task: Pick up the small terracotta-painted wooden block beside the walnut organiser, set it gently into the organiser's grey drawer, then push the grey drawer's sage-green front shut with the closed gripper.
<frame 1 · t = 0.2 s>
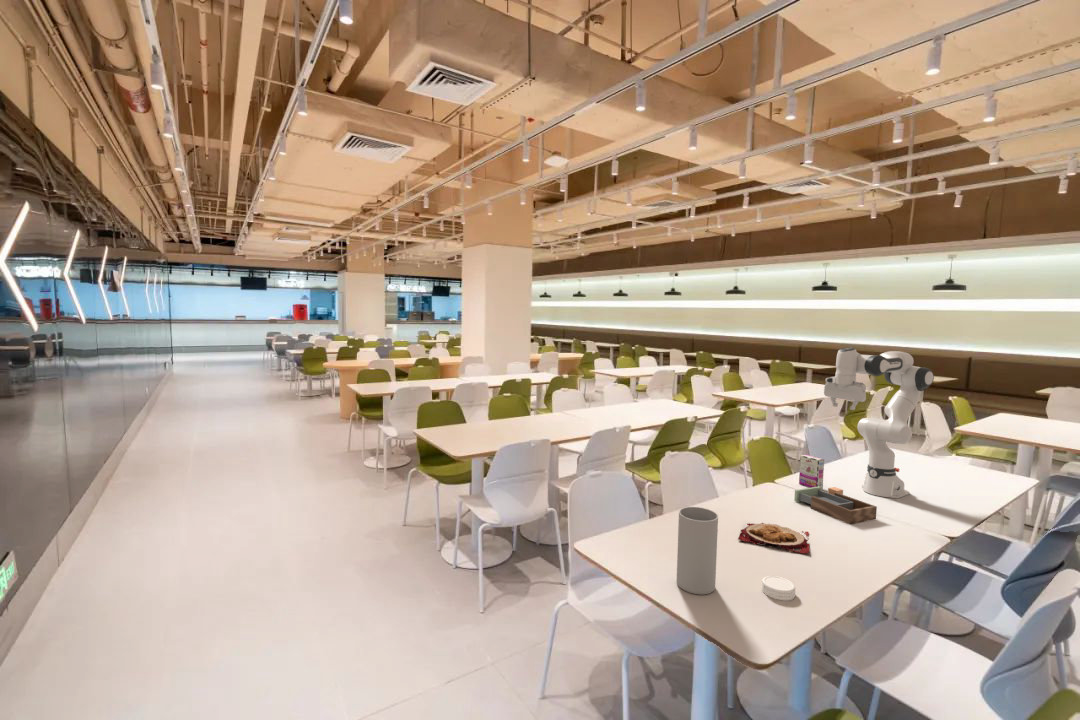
hand: (843, 408, 247), 47 cm above the table, fingers open, 8 cm apart
terracotta block: (834, 500, 250), on the table
grey drawer: (824, 500, 241), point 3 cm above the table, slide at 8.0 cm
cylinder vase: (695, 586, 168), on the table
candy bar box: (810, 486, 271), on the table
organiser housing: (842, 513, 233), on the table
coaster: (778, 593, 164), on the table
plate with food: (773, 538, 207), on the table
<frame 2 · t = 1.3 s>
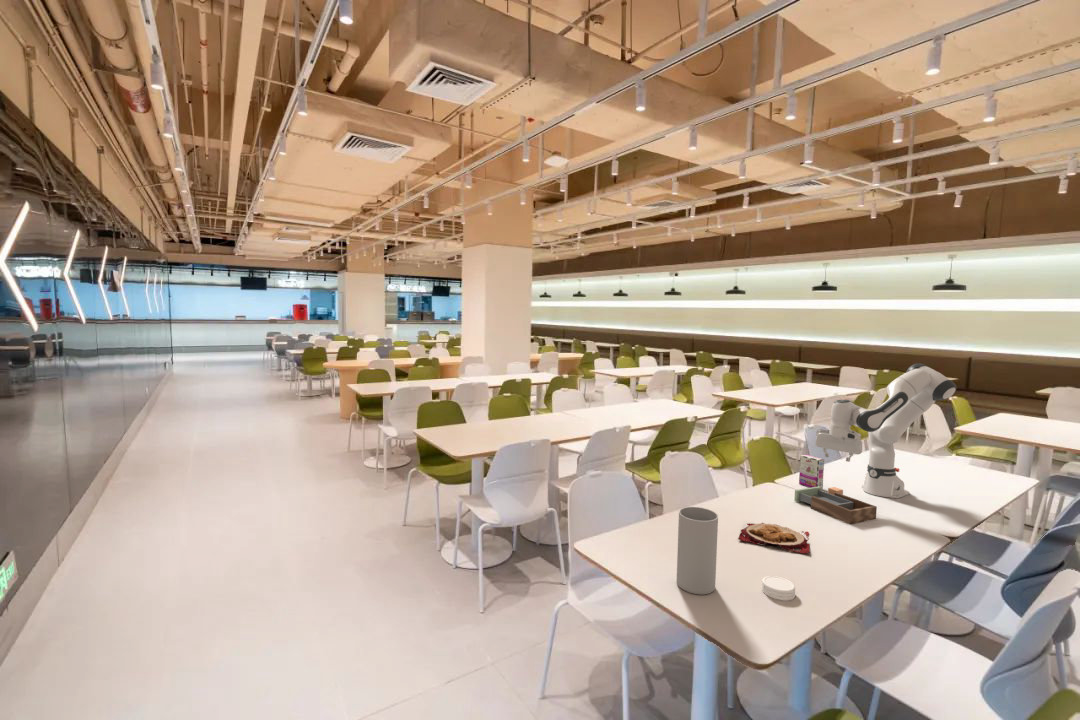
hand: (837, 459, 249), 21 cm above the table, fingers open, 8 cm apart
nothing on the table moved.
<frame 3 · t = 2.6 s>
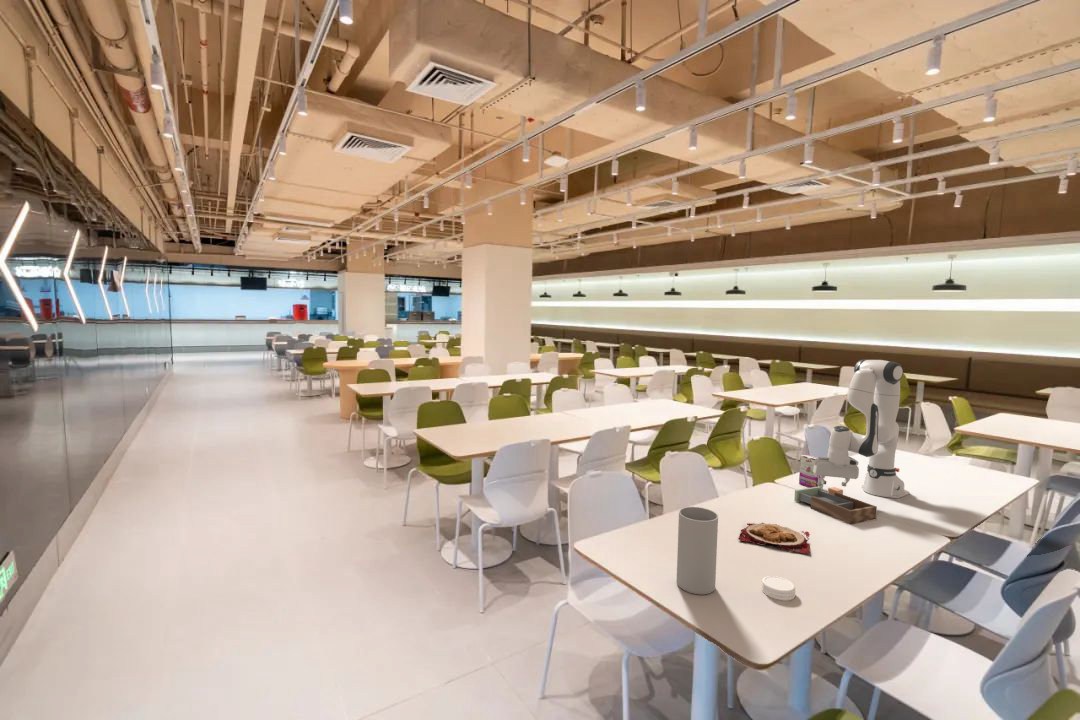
hand: (833, 485, 250), 8 cm above the table, fingers open, 8 cm apart
nothing on the table moved.
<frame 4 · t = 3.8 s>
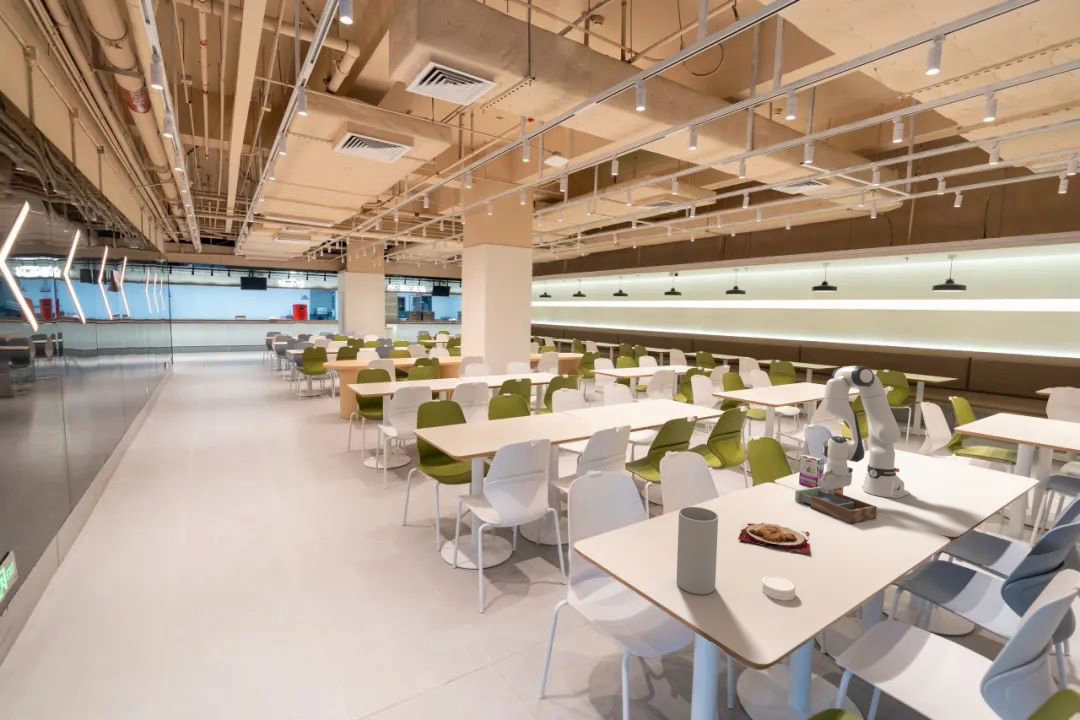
hand: (835, 496, 250), 2 cm above the table, fingers closed on terracotta block, 5 cm apart
terracotta block: (835, 500, 250), on the table, touching gripper
grey drawer: (825, 500, 241), point 3 cm above the table, slide at 7.7 cm
everything else where it was.
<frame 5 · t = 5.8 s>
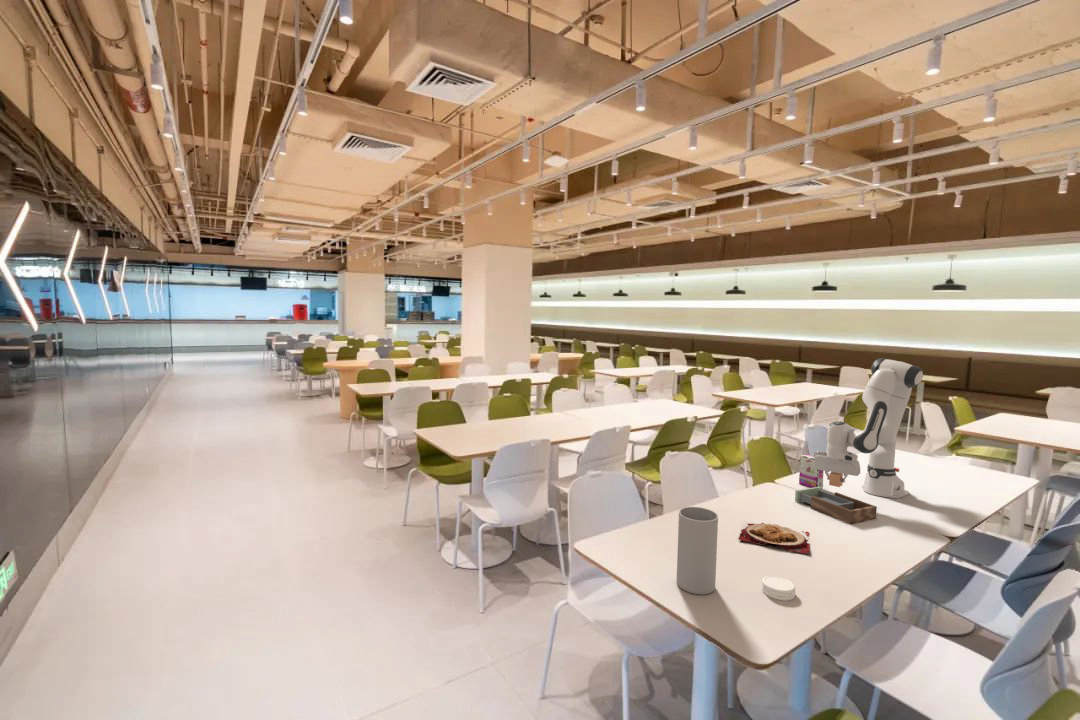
hand: (836, 480, 250), 10 cm above the table, fingers closed on terracotta block, 5 cm apart
terracotta block: (835, 485, 250), point 8 cm above the table, touching gripper
everything else where it was.
when the fingers open (6 cm above the table, at t = 11.3 s): terracotta block drops 2 cm, resting on grey drawer.
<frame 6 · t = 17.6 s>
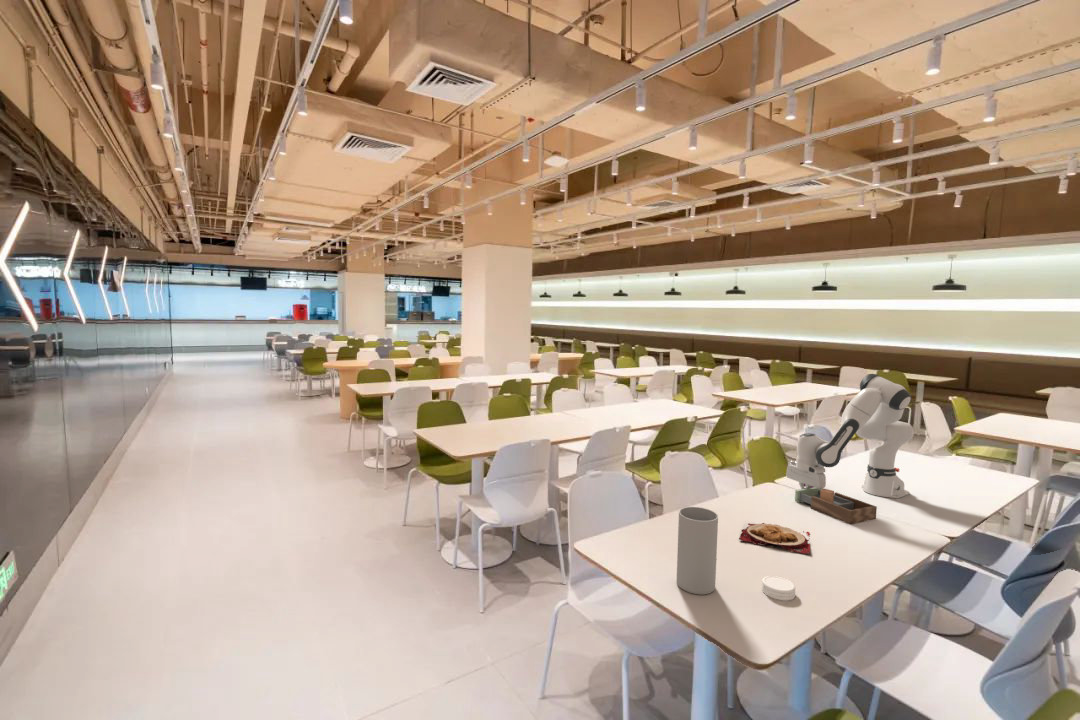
hand: (804, 491, 252), 4 cm above the table, fingers closed
terracotta block: (826, 502, 240), point 2 cm above the table, touching grey drawer
grey drawer: (825, 500, 241), point 3 cm above the table, slide at 7.7 cm, touching gripper, terracotta block
everything else where it was.
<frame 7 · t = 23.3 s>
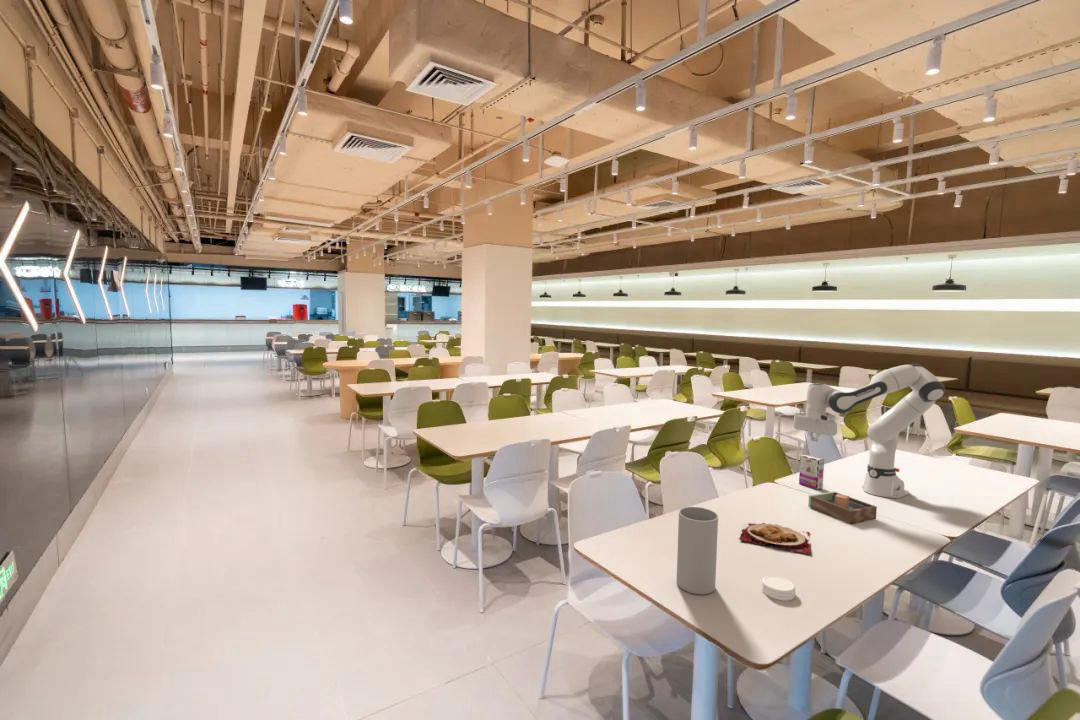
hand: (814, 441, 253), 29 cm above the table, fingers closed
terracotta block: (841, 508, 233), point 2 cm above the table, touching grey drawer
grey drawer: (839, 505, 234), point 3 cm above the table, slide at 0.0 cm, touching terracotta block
everything else where it was.
at the end: grey drawer slide at 0.0 cm; terracotta block inside the target area on the organiser housing (0.7 cm from its centre), point 2.3 cm above the organiser housing's base; terracotta block tilted 0° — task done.
